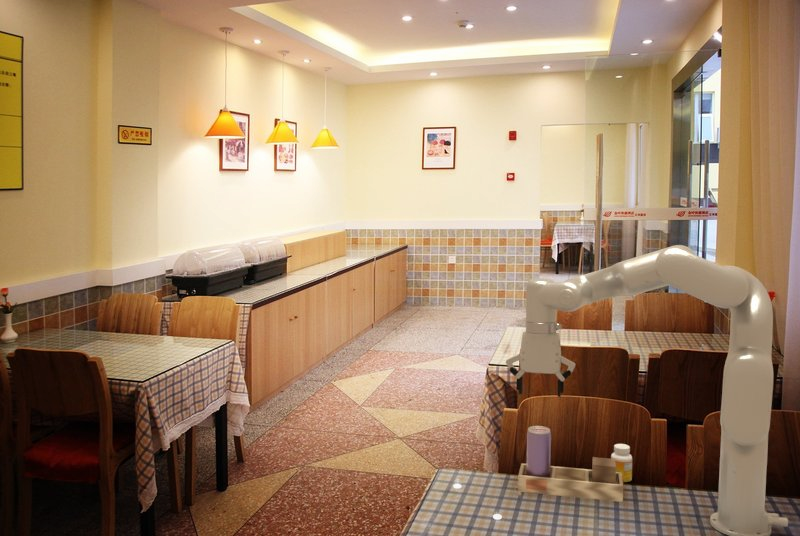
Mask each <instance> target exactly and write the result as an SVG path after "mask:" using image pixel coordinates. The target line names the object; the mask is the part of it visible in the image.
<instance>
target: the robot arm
mask: <svg viewBox="0 0 800 536" xmlns="http://www.w3.org/2000/svg"><path fill="white" fill-rule="evenodd" d="M525 286H526V287H525V331H523V332H522V334H521V335H522V336H521V343H520V353H519V354H517V355H514V356H512V357H510V358H507V359H506V360H505V364H506V366H507V369H508V370H509V372H510V373H511V374H512V375H513V376H514V377H515V379H516V391H518V395H522V394H523V392H524V389H523V388H524V384H523V383H524V382H523V381H524V377H523V375H524V374H525V373H531V374H532V373H533V374H551V375H552V374H554V375H555V376H556V377H557V397H558V398H561V397H562V395H561V394H564V391H565V390H564V383H565V381H566V379H567V378H569V377H570V376H571V375H572V373H573V372H574V369H575V368H576V363H575V362H574V361H572V360H570V359H568V358H566V357H565V356H563V355H562V350H561V349H562V347H561V346H562V344H561V337H560V333H558V331H559V330H563V324H562V323H558V322H557V311H562V312H567V313H569V312H570V313H571V312H575V311H578V310H579V309H580V308H582V307H585V306H586V305H590V304H592V303H597V302H600V301H603V300H606V299H610V298H615V297H633V296H636V295H639V294H642V293H643V294H644V293H647V292H650V291H654V290H658V289H661V288H663V287H664V288H665V287H669V286H671V287H673V288H674V289H677V290H678V291H681V292H683V293H685V294H687V295H690V296H691V297H695V298H696V299H699V301H700V300H701V301H703V302H705V303H707V304H710V305H712V306H714V307H716V308H717V307H718V308H721V309H729V310H730V323H729V325H730V326H729V342H728V349H727V350H728V352H727V356H726V359H725V362H724V363H725V364H724V367H723V375H722V376H723V377H722V389H721V390H722V391H721V392H722V394H721V405H720V417H719V418H720V419H719V423H720V426H721V428H720V429H721V435H720V454H719V455H720V457H719V476H718V477H719V478H718V493H717V494H718V495H717V496H718V497H717V498H718V500H717V501H718V502H717V511H716V512H714V513H711V515H710V516H709V523H710V525H711V527H713V529H715V530H716V531H718V532H720V533H722V534H724V535H726V536H771V535H772V527H773V526H778V527H786V528H787V527H788V526H789V520H788V517H782V516H780V515H779V513H775V512H773V513H771V512H768V511H767V510H766V508H765V506H766V503H765V502H766V487H767V486H766V485H767V466H768V449H769V448H768V447H769V446H768V445H769V431H770V428H771V427H770V426H771V418H772V417H771V416H772V415H771V414H772V404H773V403H772V402H773V391H774V366H773V360H772V351H773V350H772V348H773V347H772V346H773V332H774V331H773V329H774V327H773V326H774V325H773V323H774V313H773V306H772V305H773V304H772V301H771V298H770V295H769V293H768V291H767V289H766V287H765V286H764V285H763V283H762V282H761V281H760V280H759V279H758V278H757V277H756V276H755V275H753V274H752V273H751V272H749V271H747V270H746V269H744V268H741V267H739V266H736V265H720V264H717V263H715V262H713V261H710V260H708V259H706V258H704V257H701V256H699V255H697V254H696V253H695V251H694V250H692V248H690V247H688V246H686V245H684V244H683V245H682V244H675V245H672V246H668V247H665V248H661V249H658V250H654V251H651V252H649V253H644V254H642V255H639V256H635V257H632V258H629V259H624V260H622V261H620V262H616V263H614V264H612V265H611V266H607V267H606V268H605V267H604V268H601V269H599V270H595V271H591V272H589V273H586V274H582V275H578V276H576V277H575V276H574V277H571V278H569V279H566V280H563V281H555V280H554V279H550V278H549V279H548V278H533V279H530V280H527V282H526V285H525ZM518 361H519V369H517V368H515V367H516V366H515V365H514V363H516V362H518ZM562 364H563V365H566V366H567V367H568V368H567V370H565V371H564V372H562V370H561V368H562V367H561V366H562Z"/></svg>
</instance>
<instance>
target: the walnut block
mask: <svg viewBox="0 0 800 536" xmlns="http://www.w3.org/2000/svg"><path fill="white" fill-rule="evenodd" d="M591 467H592V469H591V470H592V482H599V483H610V484H616V463H615V459H611V458H607V457H596V456H592V466H591Z"/></svg>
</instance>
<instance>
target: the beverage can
mask: <svg viewBox="0 0 800 536" xmlns="http://www.w3.org/2000/svg"><path fill="white" fill-rule="evenodd" d="M551 443H552V433H551V429H550V428H549V427H547V426H542V425H532V426H529V427H528V428H527V432H526V464H527V467H526V476H536V477H546V478H550V466H551V452H552V451H551V450H552V448H551V445H552V444H551Z"/></svg>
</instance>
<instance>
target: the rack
mask: <svg viewBox="0 0 800 536" xmlns="http://www.w3.org/2000/svg"><path fill="white" fill-rule="evenodd" d="M519 467H520V468H519V471H518V476H517V495H518V496H522V493H530V494H537V495H538V494H540V495H548V496H549V495H551V496H561V497H567V498H568V497H570V498H577V499H578V498H579V499H588V500H599V501H608V502H609V501H611V502H617V503H618V502H620V503H624V482H623V480H622V473H621V472H616V484H610V483H599V482H592V469H587V468H577V467H568V466H567V467H566V466H558V465H557V466H554V465H550V478H546V477H536V476H526V467H527V463H522V462H521V463H520V466H519Z"/></svg>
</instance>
